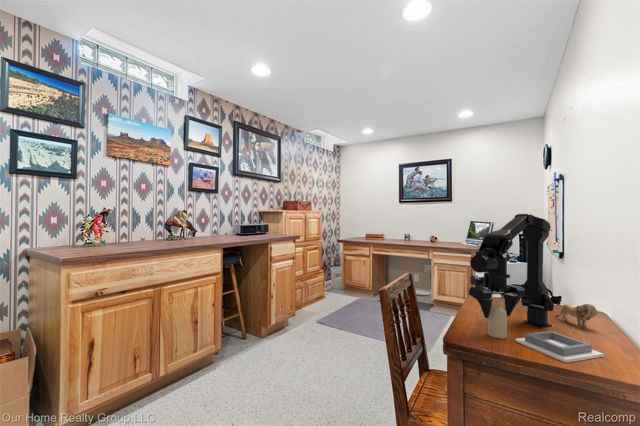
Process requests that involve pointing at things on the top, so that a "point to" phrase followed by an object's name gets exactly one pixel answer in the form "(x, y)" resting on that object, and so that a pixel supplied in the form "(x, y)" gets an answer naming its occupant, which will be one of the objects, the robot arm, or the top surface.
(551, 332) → the candle tray
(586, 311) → the lion figurine
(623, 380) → the top surface
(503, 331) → the candle
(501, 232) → the robot arm
